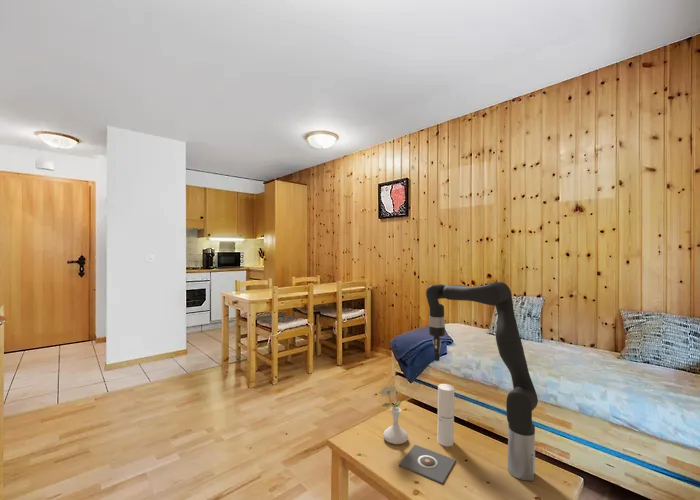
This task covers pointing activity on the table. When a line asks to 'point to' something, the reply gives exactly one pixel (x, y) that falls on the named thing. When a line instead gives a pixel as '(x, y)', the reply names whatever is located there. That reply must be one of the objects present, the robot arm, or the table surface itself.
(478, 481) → the table surface
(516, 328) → the robot arm
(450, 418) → the cylindrical container
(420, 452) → the pad
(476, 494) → the table surface
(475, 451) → the table surface
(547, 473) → the table surface
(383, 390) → the flower in vase
